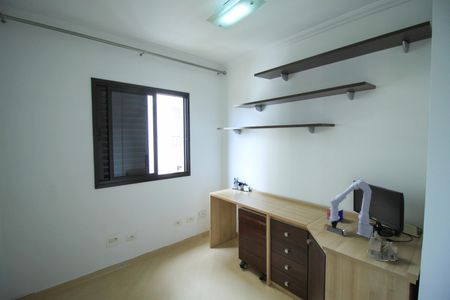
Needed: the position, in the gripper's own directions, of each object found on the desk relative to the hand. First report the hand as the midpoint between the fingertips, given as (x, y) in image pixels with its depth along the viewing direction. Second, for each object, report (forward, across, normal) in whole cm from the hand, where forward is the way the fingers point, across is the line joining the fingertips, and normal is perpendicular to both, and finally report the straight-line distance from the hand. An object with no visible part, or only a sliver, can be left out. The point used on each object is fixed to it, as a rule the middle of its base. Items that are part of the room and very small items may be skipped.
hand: (334, 229), depth 179 cm
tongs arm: (+1, +1, +1) cm, 2 cm away
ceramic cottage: (+2, +14, +38) cm, 41 cm away
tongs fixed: (+1, +2, +2) cm, 4 cm away
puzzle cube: (+2, -26, -12) cm, 29 cm away
